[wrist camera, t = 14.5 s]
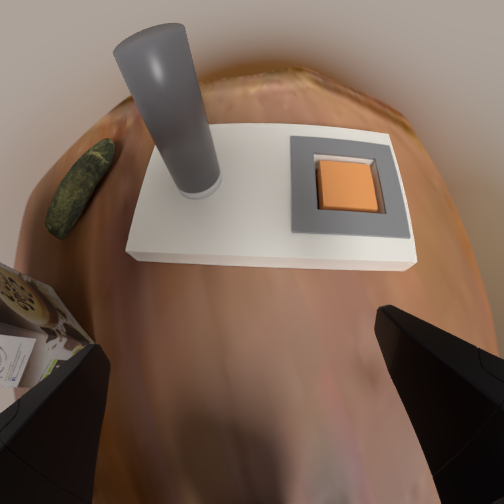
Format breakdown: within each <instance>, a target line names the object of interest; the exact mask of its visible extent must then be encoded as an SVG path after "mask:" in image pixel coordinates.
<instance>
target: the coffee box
mask: <svg viewBox="0 0 504 504" xmlns="http://www.w3.org/2000/svg"><path fill="white" fill-rule="evenodd" d="M88 344H95V343H94V342H93V340H92V339H91V338H90V337H89V336H88V334H87V333H86V332H85V331H84V330H83V328H82V327H81V326H80V325H79V323H78V322H77V321H76V320H75V318H74V317H73V316H72V314H71V313H70V312H69V310H68V309H67V308H66V306H65V305H64V304H63V302H62V301H61V299H60V298H59V297H58V295H57V294H56V292H55V291H54V290H53V288H52V287H51V286H49V285H47V284H44V283H42V282H40V281H38V280H36V279H33V278H31V277H29V276H27V275H25V274H23V273H21V272H18V271H16V270H14V269H12V268H10V267H8V266H6V265H4V264H2V263H0V386H3V387H25V388H33V387H34V386H35V385H36V384H38V383H39V382H40V381H41V380H43V379H44V378H45V377H46V376H48V375H49V374H50V373H52V372H53V371H54V370H55V369H57V368H58V367H59V366H60V365H62V364H63V363H64V362H66V361H67V360H68V359H69V358H71V357H72V356H73V355H75V354H76V353H77V352H78V351H80V350H81V349H82V348H84V347H85V346H86V345H88Z"/></svg>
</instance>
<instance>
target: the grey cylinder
mask: <svg viewBox="0 0 504 504" xmlns="http://www.w3.org/2000/svg"><path fill="white" fill-rule="evenodd" d="M113 55H114V57H115V59H116V62H117V64H118V66H119V68H120V70H121V73H122V75H123V77H124V79H125V82H126V84H127V86H128V88H129V90H130V92H131V95H132V97H133V99H134V101H135V103H136V105H137V107H138V110H139V112H140V114H141V116H142V118H143V120H144V122H145V124H146V126H147V128H148V130H149V132H150V134H151V137H152V139H153V141H154V143H155V145H156V147H157V149H158V151H159V153H160V155H161V157H162V159H163V161H164V163H165V165H166V167H167V169H168V171H169V173H170V175H171V176H172V178H173V180H174V182H175V184H176V186H177V188H178V190H179V192H180V193H181V194H182V195H183V196H184V197H186V198H188V199H192V200H199V199H203V198H206V197H208V196H210V195H212V194H213V193H214V192H215V191H216V190H217V189H218V188H219V186H220V184H221V181H222V174H221V171H220V167H219V163H218V159H217V155H216V151H215V147H214V143H213V139H212V136H211V132H210V128H209V124H208V120H207V116H206V112H205V108H204V104H203V100H202V96H201V92H200V88H199V84H198V80H197V76H196V72H195V68H194V64H193V60H192V55H191V52H190V48H189V43H188V39H187V35H186V31H185V27H184V25H182V24H179V23H167V24H161V25H157V26H153V27H150V28H147V29H144V30H142V31H140V32H137V33H135V34H134V35H132V36H130V37H128V38H126V39H125V40H124V41H122V42H121V43H120V44H119V45H118V46H117V47H116V48H115V49H114V51H113Z"/></svg>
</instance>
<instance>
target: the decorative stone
mask: <svg viewBox="0 0 504 504" xmlns="http://www.w3.org/2000/svg"><path fill="white" fill-rule="evenodd" d="M115 150H116V146H115V143H114V142H113V141H112V140H110V139H108V138H105V139H103V140H101V141H100V142H98V143H97V144H95V145H94V146H93V147H92V148H90V149H89V150H88V151H87V152H86V153H84V154H83V155H82V156H81V157H80V158H79V159H78V160H77V161H76V163H75V164H74V165H73V166H72V168H71V169H70V170H69V172H68V173H67V175H66V176H65V177H64V179H63V180H62V182H61V183H60V185H59V187H58V189H57V190H56V192H55V194H54V197H53V199H52V201H51V204H50V207H49V210H48V213H47V216H46V221H45V225H46V227H47V229H48V231H49V232H50V233H51V234H52V235H53V236H55V237H56V238H59V239H64V238H65V237H66V236H67V234H68V233H69V232H70V230H71V229H72V228H73V226H74V225H75V223H76V222H77V220H78V219H79V217H80V215H81V213H82V212H83V210H84V208H85V206H86V204H87V203H88V201H89V199H90V197H91V195H92V193H93V191H94V189H95V188H96V186H97V184H98V183H99V181H100V180H101V179H102V177H103V176H104V175H105V173H106V172H107V170H108V169H109V167H110V165H111V164H112V161H113V159H114V156H115Z"/></svg>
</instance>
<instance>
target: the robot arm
mask: <svg viewBox="0 0 504 504" xmlns="http://www.w3.org/2000/svg"><path fill="white" fill-rule="evenodd" d="M374 330H375V335H376V338H377V340H378V343H379V346H380V349H381V352H382V354H383V357H384V360H385V363H386V366H387V369H388V372H389V374H390V376H391V379H392V381H393V383H394V385H395V387H396V389H397V391H398V394H399V396H400V398H401V400H402V403H403V405H404V407H405V409H406V412H407V414H408V416H409V418H410V421H411V423H412V426H413V428H414V430H415V433H416V435H417V438H418V440H419V443H420V445H421V448H422V450H423V453H424V455H425V458H426V461H427V463H428V466H429V469H430V471H431V474H432V476H433V480H434V483H435V486H436V489H437V492H438V495H439V498H440V501H441V504H504V359H501V358H499V357H497V356H495V355H493V354H491V353H488V352H486V351H484V350H482V349H480V348H477V347H476V346H474V345H472V344H470V343H468V342H466V341H464V340H462V339H460V338H458V337H456V336H454V335H452V334H450V333H448V332H446V331H444V330H442V329H440V328H438V327H436V326H434V325H432V324H430V323H428V322H426V321H424V320H421V319H419V318H417V317H415V316H413V315H411V314H409V313H407V312H405V311H403V310H401V309H399V308H397V307H395V306H393V305H385V306H381V307H379V308H378V309H377V314H376V320H375V327H374ZM109 375H110V361H109V359H108V358H107V356H106V354H105V353H104V351H103V349H102V347H101V346H100V345H99V344H88V345H86V346H85V347H84V348H82V349H81V350H80V351H78V352H77V353H76V354H75V355H73V356H72V357H71V358H69V359H68V360H67V361H66V362H64V363H63V364H62V365H60V366H59V367H58V368H57V369H55V370H54V371H53V372H52V373H50V374H49V375H48V376H46V377H45V378H44V379H43V380H41V381H40V382H39V383H38V384H36V385H35V386H34V387H33V388H32V389H30V390H29V391H28V392H27V393H25V394H24V395H23V396H22V397H21V398H19V399H18V400H17V401H15V402H14V403H13V404H12V405H11V406H9V407H8V408H7V409H6V410H4V411H3V412H1V413H0V504H92V497H93V485H94V476H95V467H96V460H97V453H98V446H99V440H100V434H101V428H102V423H103V417H104V412H105V407H106V400H107V391H108V383H109Z"/></svg>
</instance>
